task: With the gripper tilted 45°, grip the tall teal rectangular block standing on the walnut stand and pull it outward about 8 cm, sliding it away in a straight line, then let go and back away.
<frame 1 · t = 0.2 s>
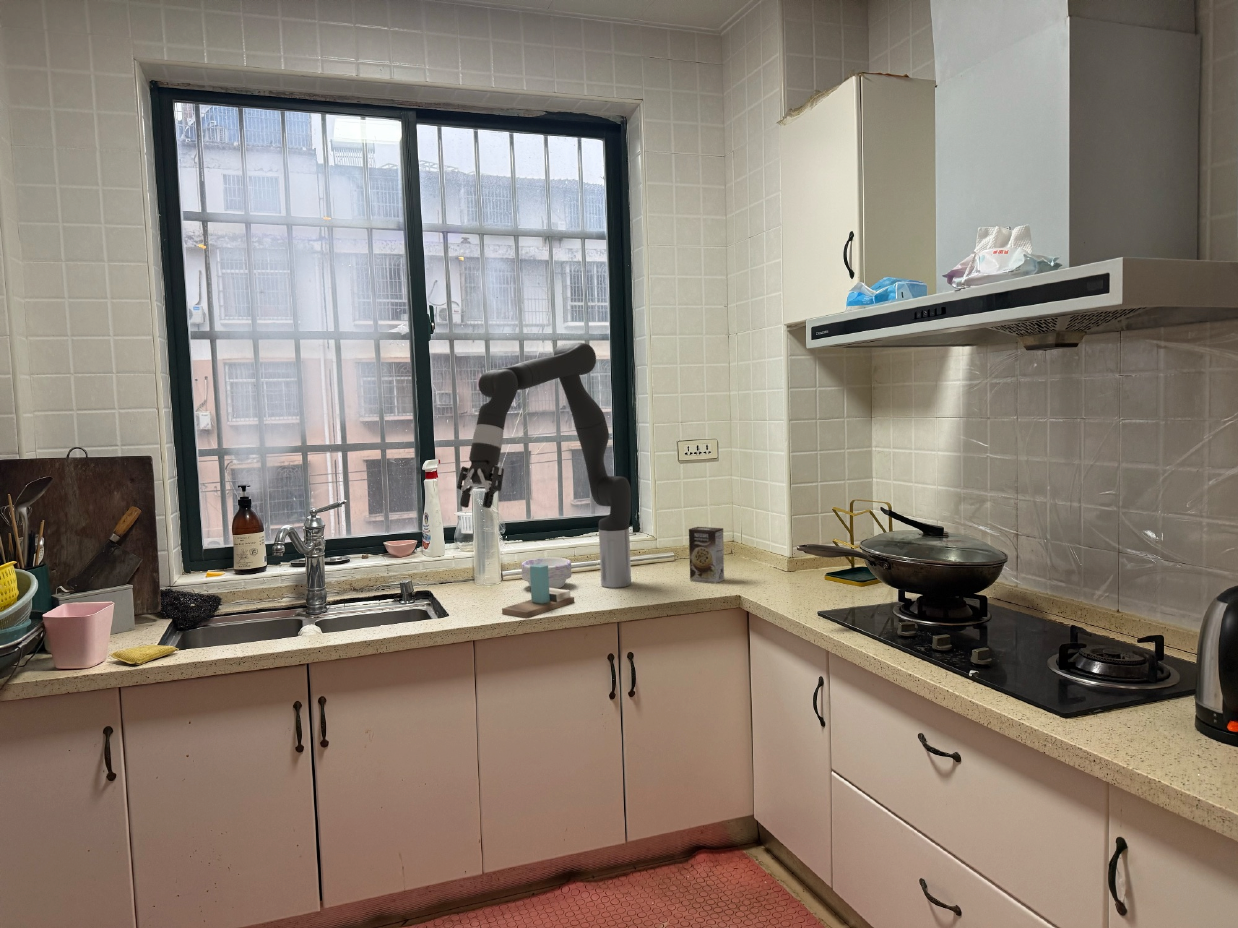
hand: (475, 507, 214), 31 cm above the worktop, tool tilted 20°, fingers open, 8 cm apart
white and purple bowl: (547, 587, 261), on the worktop
teal rectangular block: (539, 583, 235), point 7 cm above the worktop, slide at 0.0 cm
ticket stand: (540, 607, 235), on the worktop
coffee box: (707, 580, 262), on the worktop
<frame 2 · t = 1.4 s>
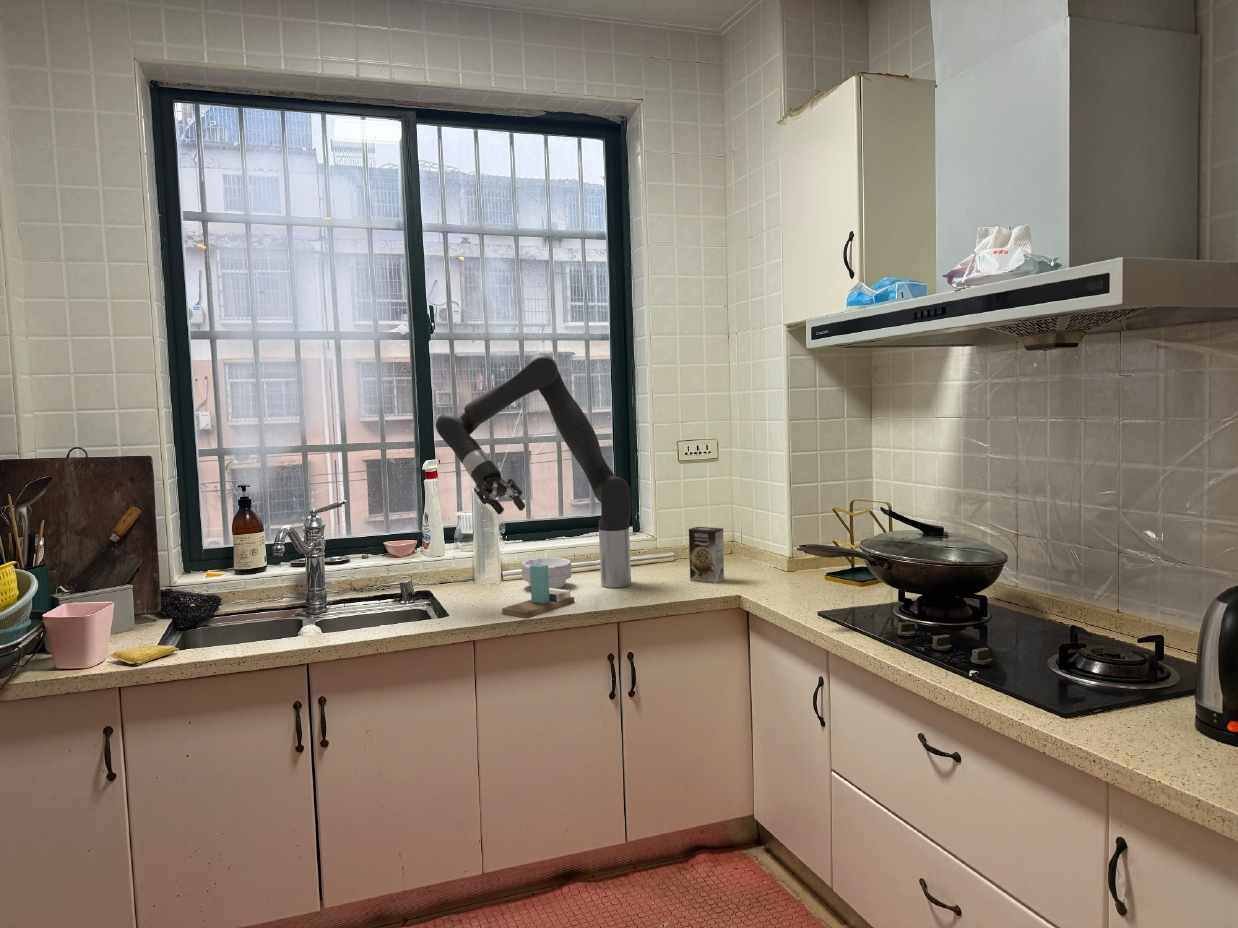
hand: (512, 510, 238), 27 cm above the worktop, tool tilted 45°, fingers open, 8 cm apart
nothing on the worktop moved.
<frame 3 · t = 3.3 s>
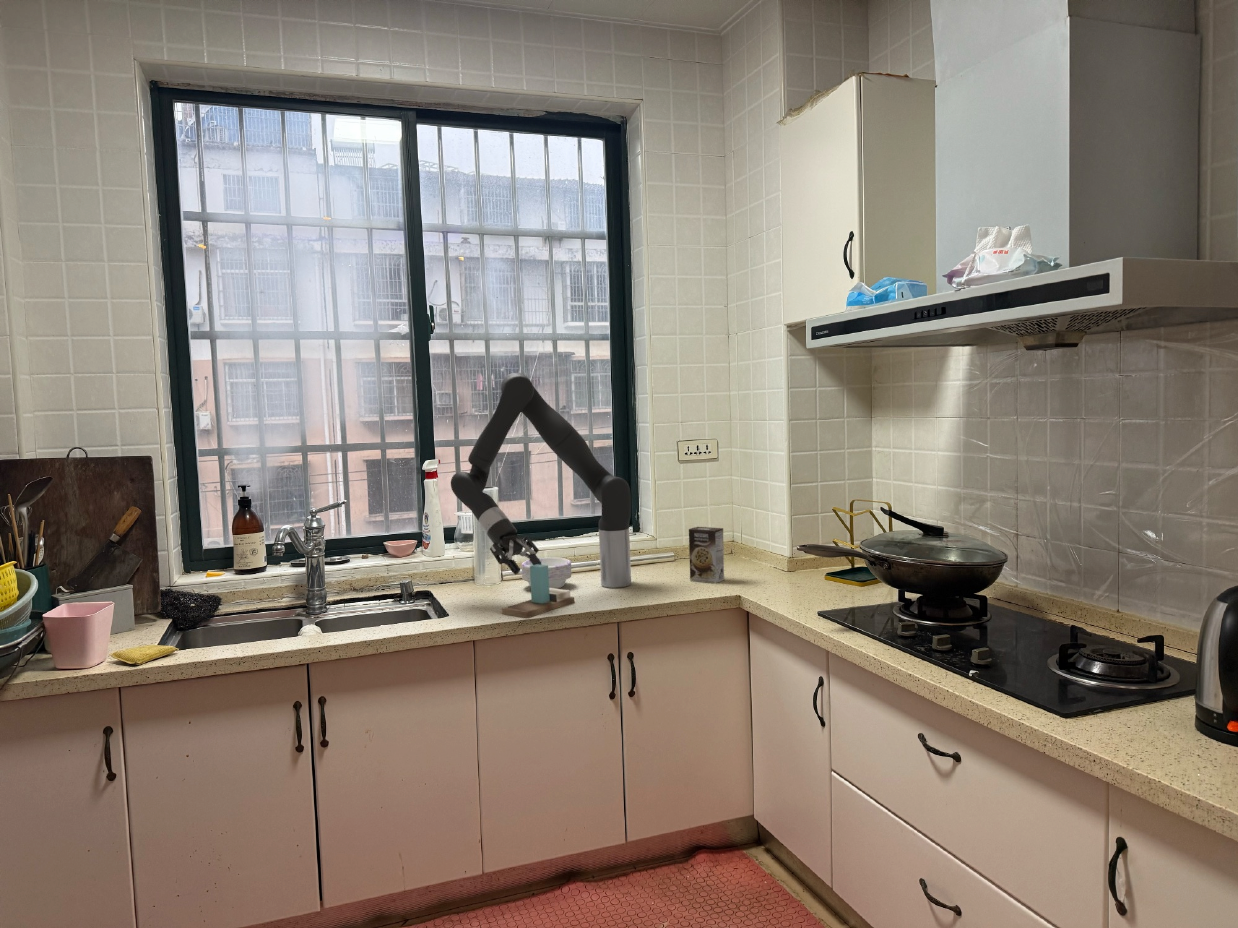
hand: (528, 569, 237), 10 cm above the worktop, tool tilted 45°, fingers open, 8 cm apart
nothing on the worktop moved.
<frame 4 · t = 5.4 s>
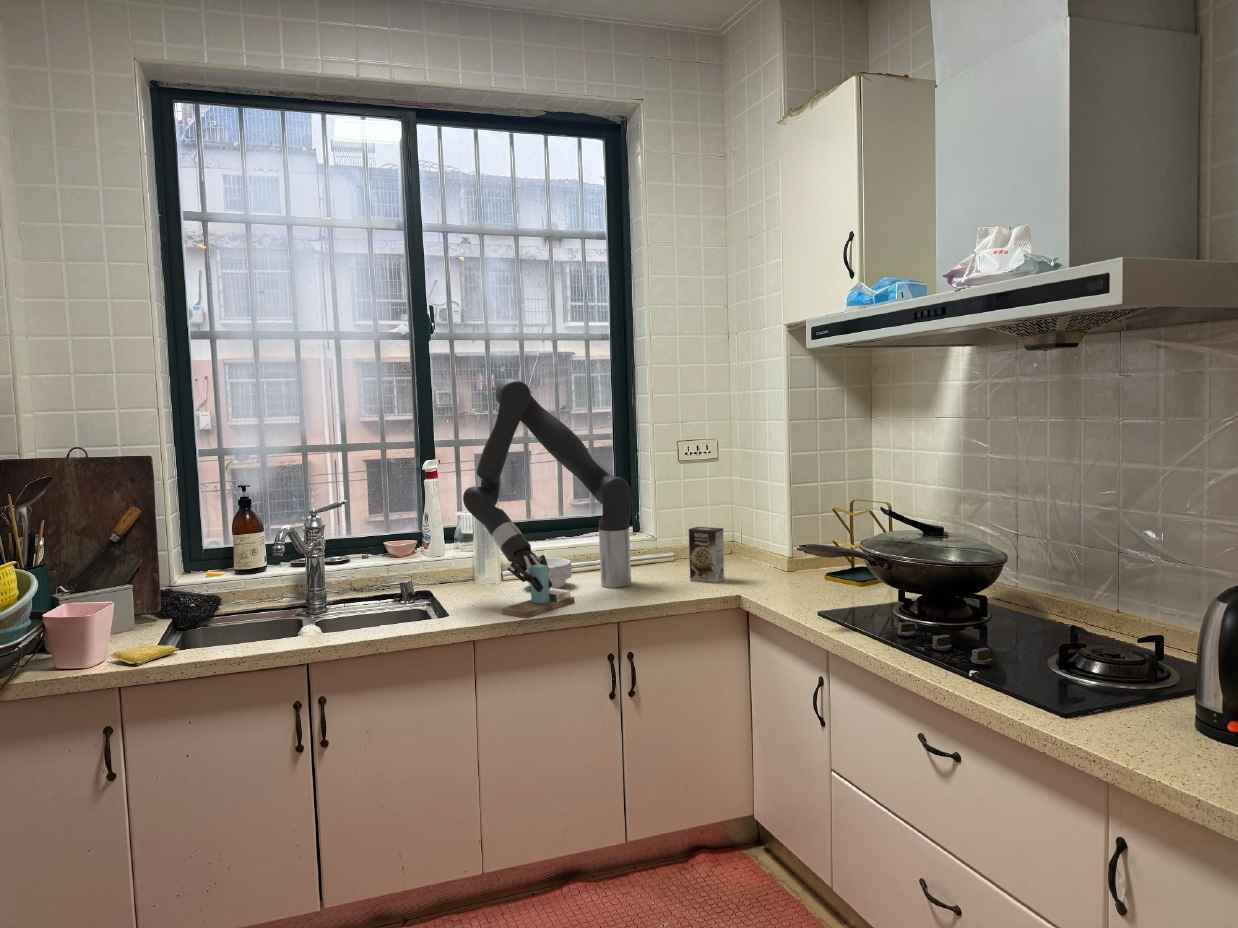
hand: (545, 588, 234), 5 cm above the worktop, tool tilted 45°, fingers closed on teal rectangular block, 3 cm apart
teal rectangular block: (539, 583, 235), point 7 cm above the worktop, slide at 0.0 cm, touching gripper
everything else where it was.
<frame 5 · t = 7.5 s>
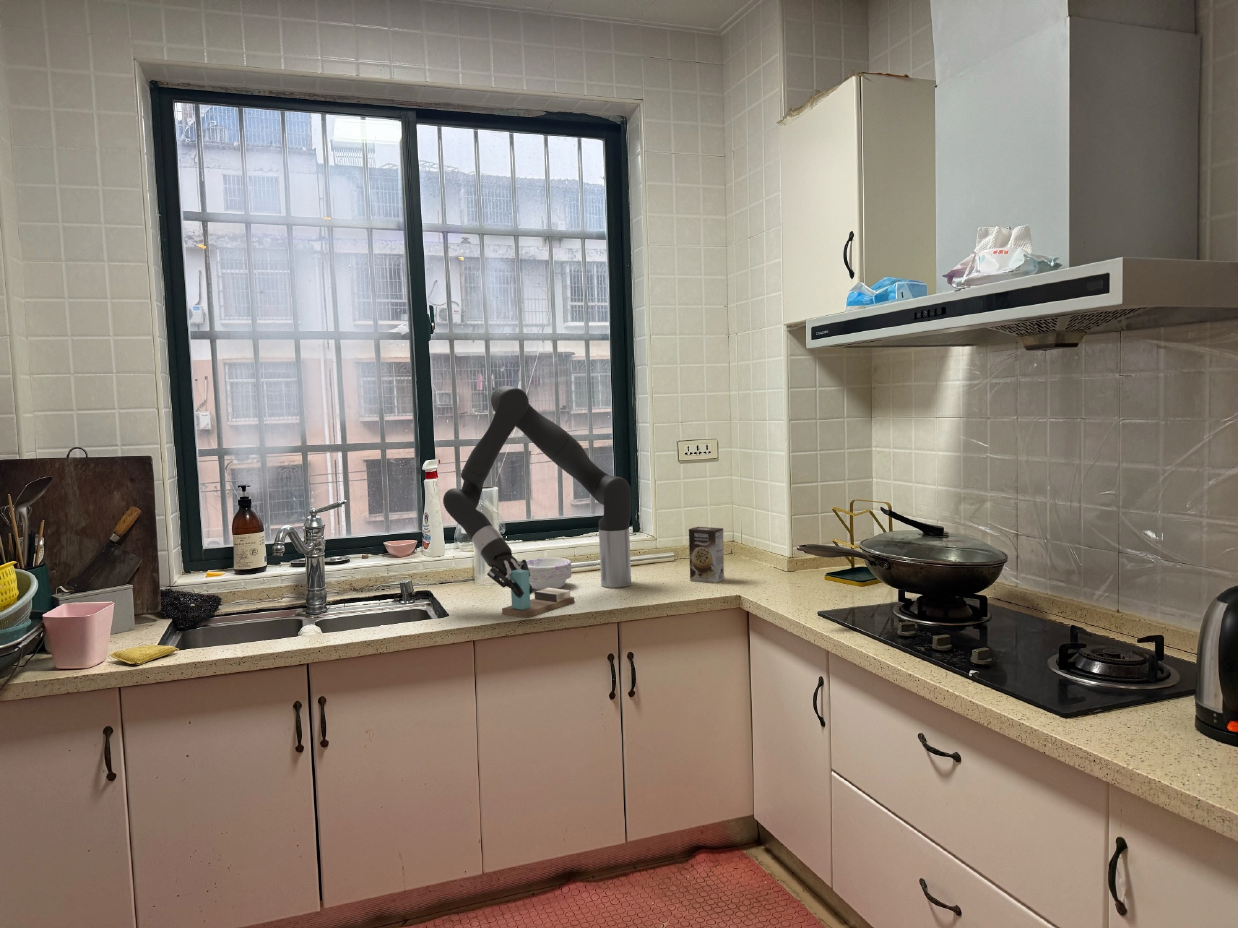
hand: (526, 594, 228), 5 cm above the worktop, tool tilted 45°, fingers closed on teal rectangular block, 3 cm apart
teal rectangular block: (520, 589, 229), point 7 cm above the worktop, slide at 7.7 cm, touching gripper
everything else where it was.
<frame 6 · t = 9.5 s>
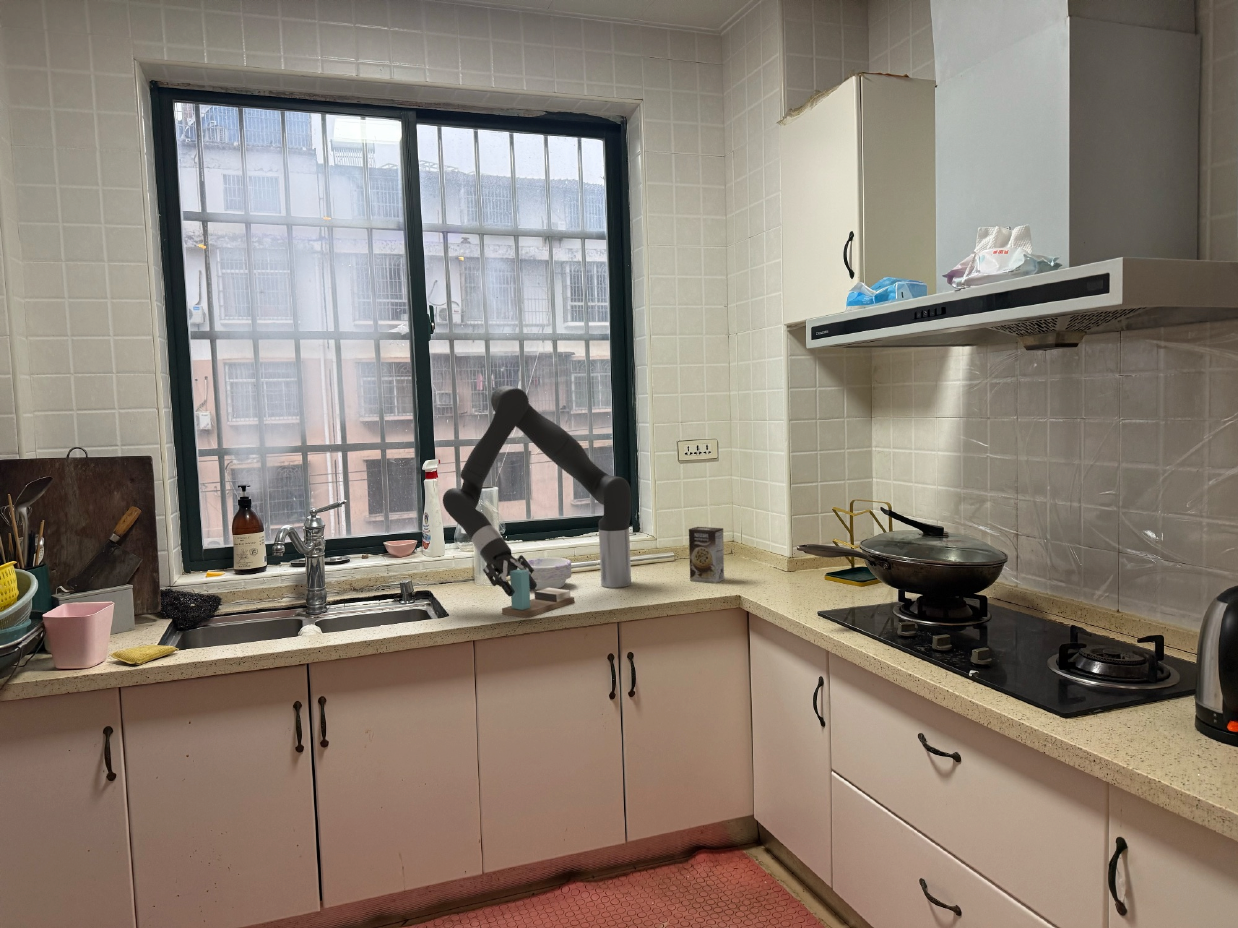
hand: (523, 591, 228), 6 cm above the worktop, tool tilted 45°, fingers open, 8 cm apart
teal rectangular block: (520, 589, 229), point 7 cm above the worktop, slide at 7.8 cm
everything else where it was.
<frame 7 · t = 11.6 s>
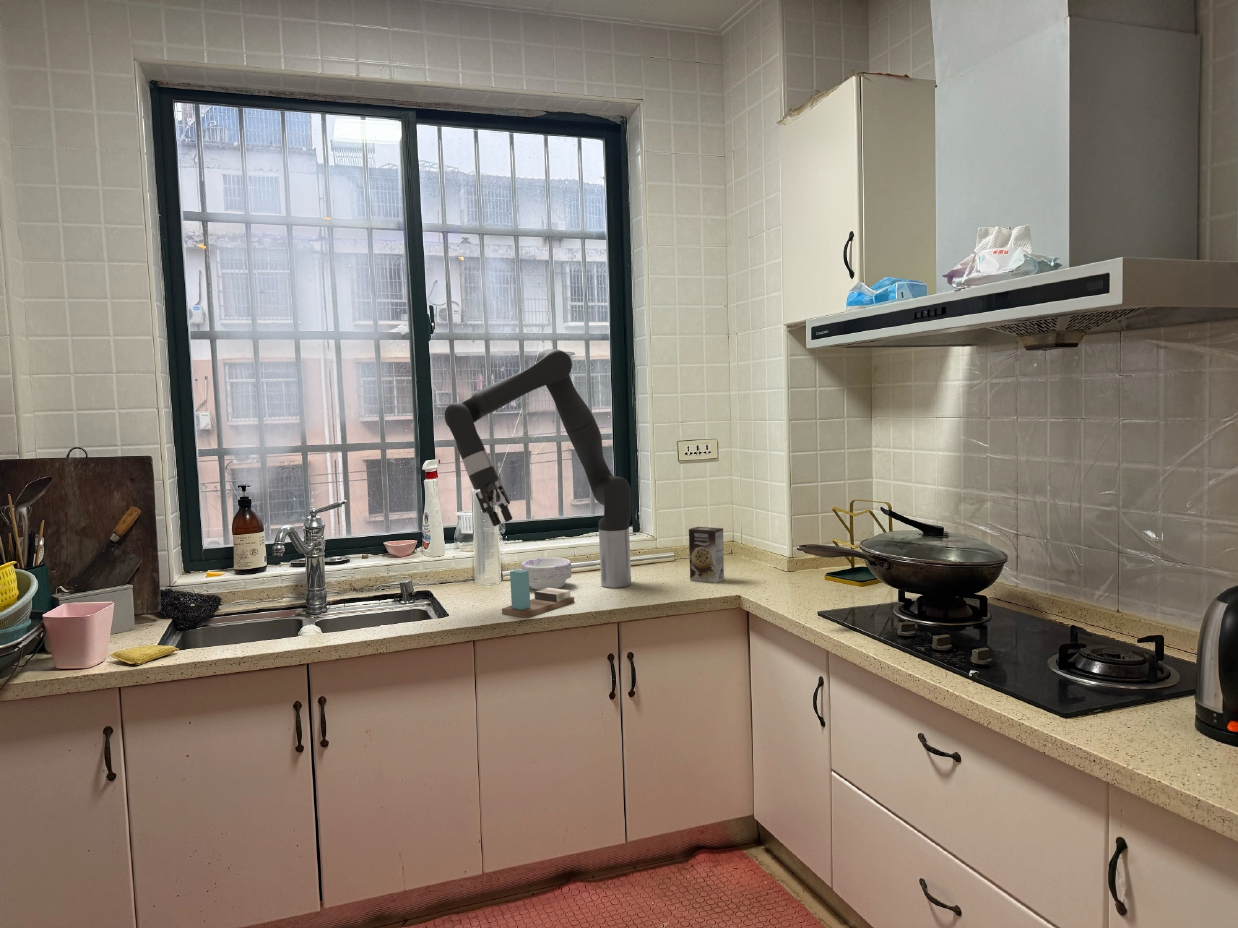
hand: (503, 522, 239), 23 cm above the worktop, tool tilted 20°, fingers open, 8 cm apart
nothing on the worktop moved.
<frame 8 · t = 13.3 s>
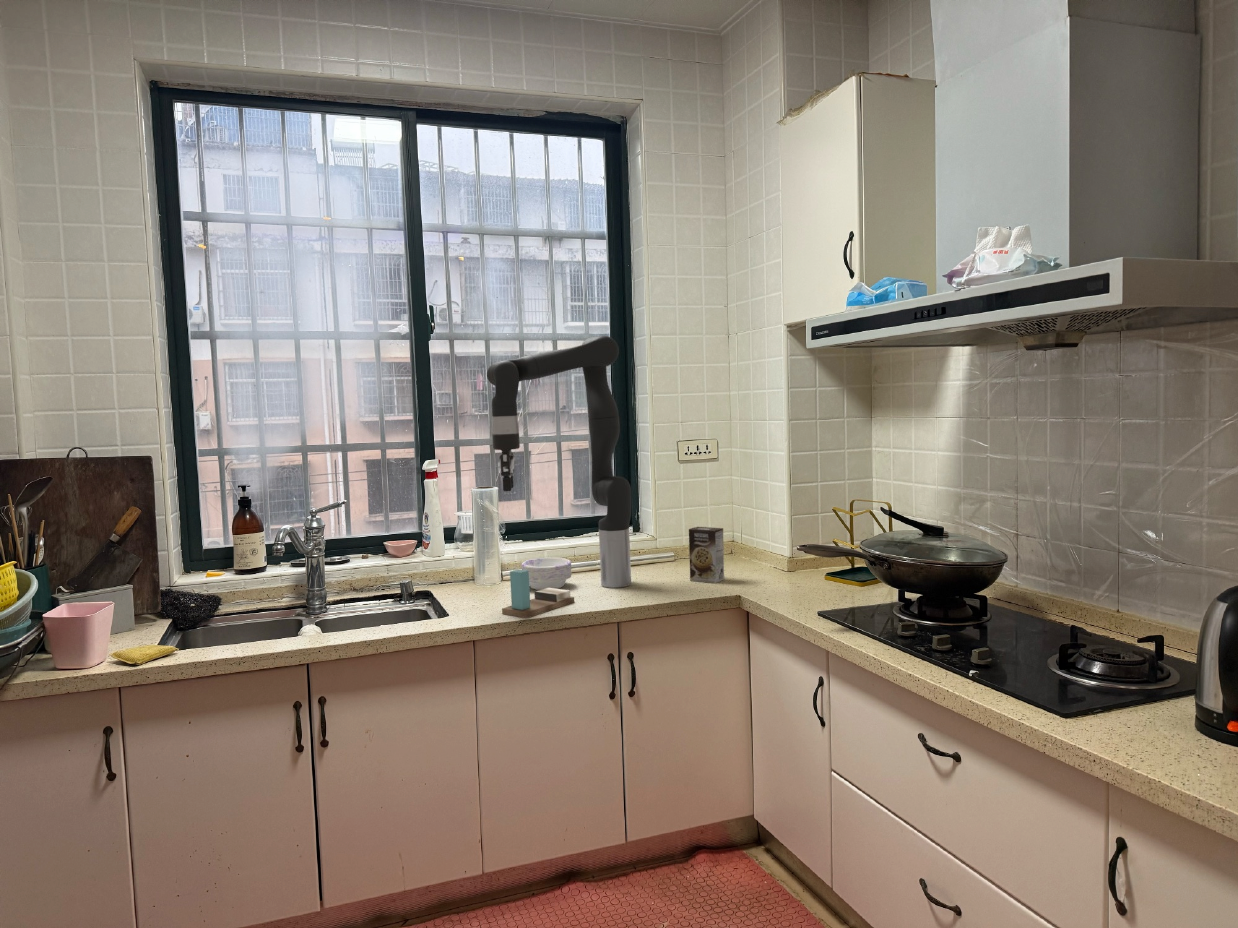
hand: (508, 489, 242), 32 cm above the worktop, tool pointing down, fingers open, 8 cm apart
nothing on the worktop moved.
at the end: teal rectangular block slide at 7.8 cm; the gripper is holding nothing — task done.
